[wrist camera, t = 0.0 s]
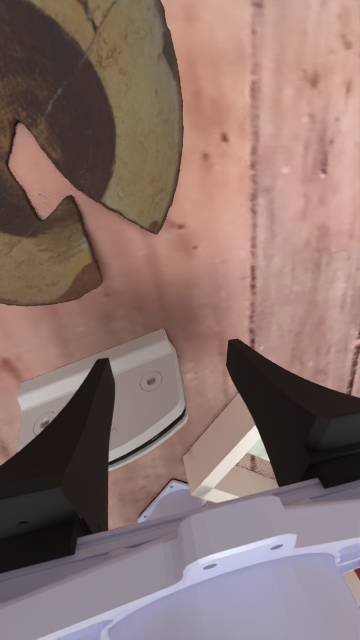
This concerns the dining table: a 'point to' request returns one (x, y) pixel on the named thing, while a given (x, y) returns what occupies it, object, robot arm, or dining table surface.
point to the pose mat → (259, 450)
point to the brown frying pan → (84, 132)
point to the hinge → (117, 396)
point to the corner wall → (225, 457)
